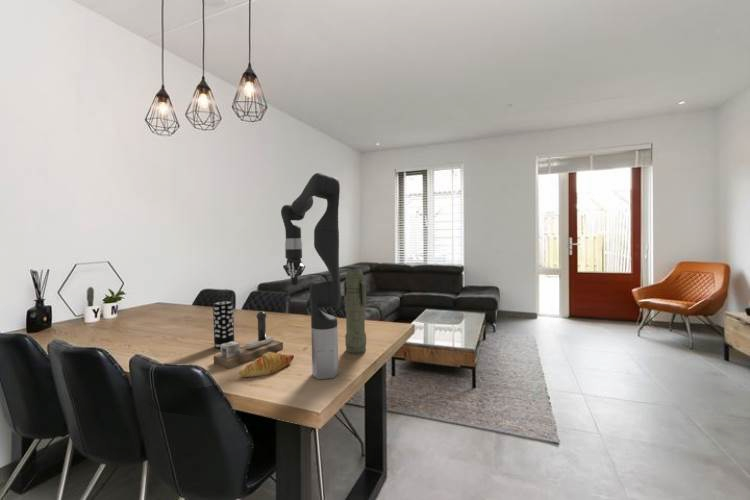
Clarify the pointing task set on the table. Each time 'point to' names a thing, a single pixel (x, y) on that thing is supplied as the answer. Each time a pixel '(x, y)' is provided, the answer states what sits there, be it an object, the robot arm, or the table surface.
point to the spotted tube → (223, 323)
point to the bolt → (260, 332)
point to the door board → (243, 353)
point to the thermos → (355, 311)
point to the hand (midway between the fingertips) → (294, 285)
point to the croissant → (266, 364)
